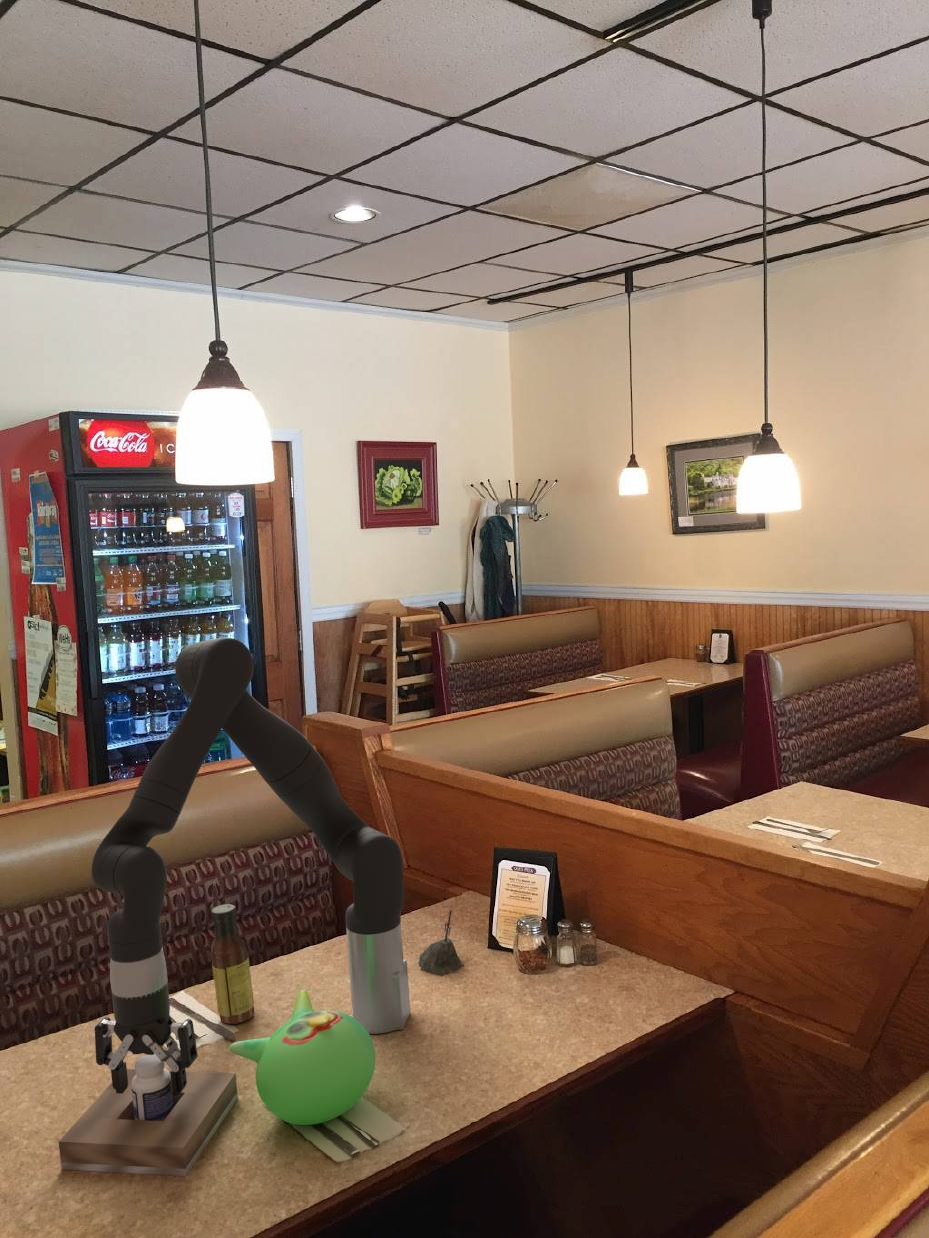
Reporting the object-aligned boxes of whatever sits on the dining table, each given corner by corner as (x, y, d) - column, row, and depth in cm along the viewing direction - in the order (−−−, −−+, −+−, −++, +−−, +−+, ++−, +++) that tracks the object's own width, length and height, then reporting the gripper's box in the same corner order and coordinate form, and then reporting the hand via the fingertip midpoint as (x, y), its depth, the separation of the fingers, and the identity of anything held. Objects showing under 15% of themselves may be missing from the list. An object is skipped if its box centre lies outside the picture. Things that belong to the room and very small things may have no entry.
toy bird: (321, 1161, 137) (313, 1057, 135) (230, 1127, 146) (221, 1029, 144) (400, 1092, 152) (393, 998, 150) (312, 1065, 161) (305, 976, 159)
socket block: (237, 1098, 153) (235, 1072, 152) (186, 1176, 135) (183, 1147, 135) (126, 1093, 156) (123, 1068, 156) (61, 1169, 138) (58, 1141, 138)
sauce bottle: (259, 1008, 181) (250, 900, 179) (248, 1026, 175) (239, 914, 173) (223, 1008, 182) (214, 901, 179) (211, 1026, 175) (201, 915, 173)
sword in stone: (408, 962, 196) (406, 901, 195) (442, 952, 201) (441, 892, 200) (435, 980, 188) (433, 917, 187) (471, 969, 192) (469, 907, 191)
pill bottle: (182, 1116, 147) (176, 1052, 146) (160, 1139, 142) (153, 1072, 141) (151, 1111, 149) (144, 1048, 148) (127, 1133, 144) (121, 1067, 143)
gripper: (198, 971, 146) (208, 1078, 147) (106, 969, 148) (116, 1075, 150) (175, 996, 138) (185, 1109, 140) (78, 994, 141) (90, 1105, 143)
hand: (150, 1091), depth 145 cm, fingers open, 8 cm apart
